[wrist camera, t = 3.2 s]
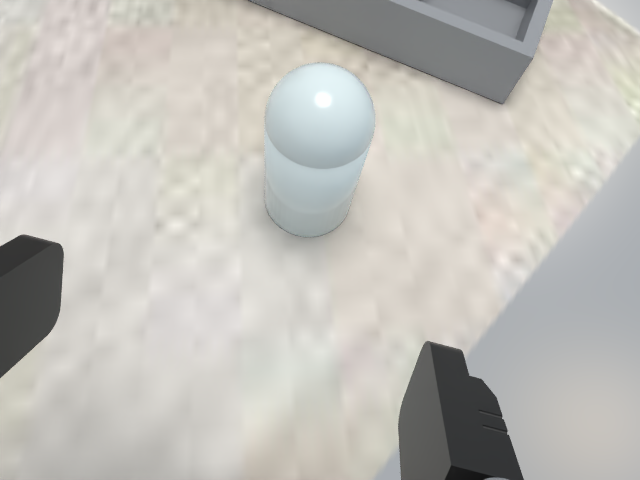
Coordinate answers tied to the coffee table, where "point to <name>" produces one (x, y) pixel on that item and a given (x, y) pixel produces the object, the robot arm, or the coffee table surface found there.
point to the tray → (436, 35)
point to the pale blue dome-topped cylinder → (315, 147)
